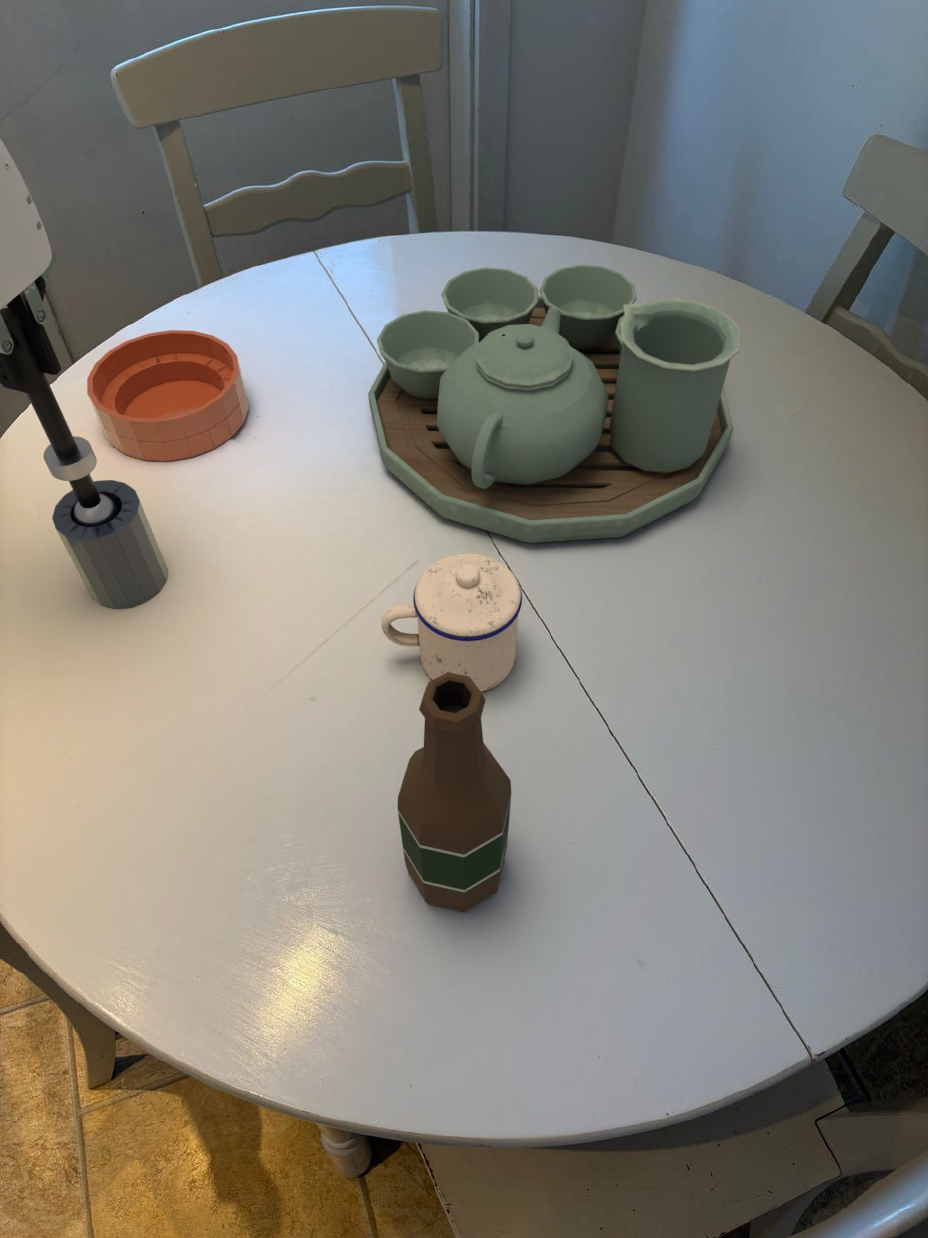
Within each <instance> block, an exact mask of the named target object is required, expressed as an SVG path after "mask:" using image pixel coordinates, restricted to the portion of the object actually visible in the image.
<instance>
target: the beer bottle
mask: <svg viewBox="0 0 928 1238" xmlns="http://www.w3.org/2000/svg"><path fill="white" fill-rule="evenodd" d="M482 692H483V691H482ZM482 692H481V691H480V690H479V688H478V687H477V686H476V684H475V683H474V682H473V680H472V679H471V678H470V677H469V676H464V675H459V674H454V673H449V672H447V673H445V674H443V675H442V676H440V677H438V678H436V679H434V680H432V679H431V680H430V681H428V682H427V685H426V687H425V689H424V693H423V696H422V699H421V701H420V705H419V708H418V710H419V712H420V713H421V715H422V717H423V718H424V725H423V726H424V729H423V746H422V747H420V748H418V749H417V750H415V751H413V753H412V755H411V756H410V758H409V759H408V763H407V766H406V769H405V772H404V776H403V779H402V783H401V786H400V788H399V792H398V795H397V816H398V822H399V828H400V837H401V844H402V851H403V859H404V863H405V868H406V870H407V873H408V874H409V876H410V877H411V880H412V881H413V882H414V884H415V886H416V888H417V889H418V891H419V892H420V894H421V895H422V897H423V900H424V901H425V903H426V904H430V905H435V906H439V907H443V908H447V909H450V910H454V911H455V910H456V911H460V912H466V911H468V910H470V909H471V908H473V907H475V906H477V904H479V903H481V902H483V901H484V900H486V899H488V898H489V897H491V896H492V895H494V894H497V892H498V891H499V890H498V889H499V884H500V880H501V876H502V871H503V866H504V863H505V858H506V854H507V849H508V839H509V827H510V815H511V803H512V793H513V792H512V782H511V779H510V777H509V776H508V775H507V773H506V772H505V770H504V768H503V767H502V766H501V765H500V763H499V762H498V761H497V759H496V757H495V756H494V755H493V753H492V752H491V750H490V749H489V748H488V746H487V745H486V744H485V743H484V735H483V724H482V717H483V716H482V715H483V712H484V707H485V703H486V698H485V696H484V695H483V693H482Z"/></svg>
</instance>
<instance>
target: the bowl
mask: <svg viewBox="0 0 928 1238" xmlns="http://www.w3.org/2000/svg"><path fill="white" fill-rule="evenodd" d="M244 382H245V381H244V378H243V375H242V370H241V365H240V362H239V358H238V355H237V354H236V352H235V351H234V350H233V348H232V347H231V346H230V344H228V343H227V342H225V341H224V340H222V339H220V338H219V337H216V336H215V335H213V334H208V333H203V332H200V331H196V330H184V329H183V330H181V329H170V330H163V331H156V332H150V333H146V334H142V335H140V336H137V337H134V338H131V339H128V340H126V341H124V342H122V343H120V344H119V345H116V346H115V347H113V348H111V349H109V350H108V351H107V352H106V353H105V354H104V355H103V356H102V357H100V359H98V360H97V361H96V362H95V363H94V364H93V367H92V369H91V370H90V373H89V375H88V376H87V379H86V384H87V385H86V393H87V396H88V398H89V401H90V403H91V406H92V408H93V410H94V413H95V415H96V419H97V420H98V422H99V425H100V427H101V430H102V433H103V434H104V436H105V438H106V439H107V441H108V442H109V444H110V445H111V446H112V447H114V448H115V449H117V450H118V451H119V452H121V453H123V454H124V455H125V456H129V457H131V458H136V459H139V460H141V461H142V460H143V461H150V462H151V461H153V462H171V461H177V460H184V459H189V458H190V459H191V458H194V457H196V456H199V455H202V454H204V453H206V452H209V451H212V450H215V449H216V448H217V447H219V446H220V445H222V444H223V443H225V442H227V441H228V440H229V439H231V438H232V437H234V435H235V434H236V433H237V431H238V430H239V429H240V428H241V427H242V426H243V424H244V423H245V420H246V417H247V415H248V412H249V408H250V407H249V401H248V396H247V391H246V387H245V383H244Z"/></svg>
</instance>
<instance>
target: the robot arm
mask: <svg viewBox="0 0 928 1238" xmlns="http://www.w3.org/2000/svg"><path fill="white" fill-rule="evenodd" d="M56 263H57V259H56V256H55V254H54V253H53V252H52V248H51V244H50V240H49V237H48V234H47V231H46V228H45V225H44V224H43V220H42V218H41V216H40V214H39V211H38V208H37V206H36V204H35V202H34V199H33V197H32V195H31V193H30V191H29V188H28V187H27V184H26V182H25V180H24V179H23V176H22V174H21V172H20V170H19V168H18V167H17V165H16V163H15V161H14V159H13V157H12V156H11V154H10V151H8V149H7V147H6V145H5V144H4V141H3V140H2V139H1V138H0V309H2V308H12V309H14V310H15V311H16V312H17V314H18V316H19V319H20V321H21V323H22V325H23V328H24V330H25V332H26V334H27V336H28V339H29V341H30V343H31V345H32V347H33V350H34V352H35V354H36V356H37V358H38V361H39V363H40V365H41V367H42V369H43V372H44V374H47V375H52V376H54V375H55V376H57V375H59V373H60V372H61V371H62V366H61V364H60V361H59V359H58V357H57V355H56V352H55V350H54V347H53V345H52V343H51V340H50V337H49V335H48V333H47V330H46V328H45V326H44V324H45V323H46V321H47V319H48V312H47V310H46V307H45V305H44V299H45V298H44V297H45V294H46V287H47V284H46V282H47V281H48V279H50V277H51V274H52V272H53V270H54V268H55V266H56ZM0 384H1V386H2V387H3V388H6V389H9V390H12V391H15V392H16V391H17V392H21V393H24V394H26V393H28V394H32V395H36V394H37V393H38V392H39V391H40V390H41V386H40V384H39V381H38V379H37V377H36V375H35V372H34V370H33V368H32V366H31V364H30V361H29V359H28V357H27V355H26V352H25V350H24V348H23V347H21V346H19V345H15V344H14V343H13V340H12V338H11V336H10V334H9V331H8V329H7V327H6V325H5V323H4V321H3V318H2V316H1V314H0Z"/></svg>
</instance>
